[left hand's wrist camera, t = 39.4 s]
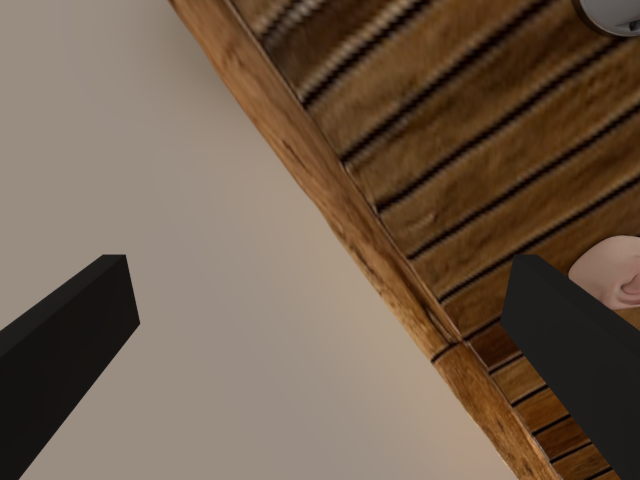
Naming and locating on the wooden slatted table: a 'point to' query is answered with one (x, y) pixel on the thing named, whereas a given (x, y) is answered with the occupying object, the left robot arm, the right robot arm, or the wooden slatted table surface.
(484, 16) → the wooden slatted table surface
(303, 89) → the wooden slatted table surface
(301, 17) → the wooden slatted table surface
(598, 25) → the left robot arm
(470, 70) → the wooden slatted table surface
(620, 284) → the anatomical model
